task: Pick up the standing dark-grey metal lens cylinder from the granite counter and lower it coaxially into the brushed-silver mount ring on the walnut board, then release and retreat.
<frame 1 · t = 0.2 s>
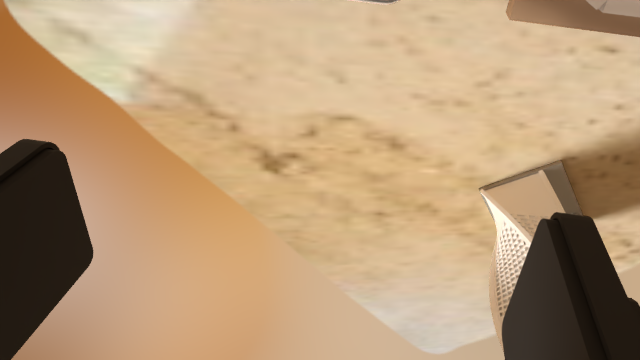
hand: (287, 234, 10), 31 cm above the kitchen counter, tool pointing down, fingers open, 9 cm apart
skyscraper: (521, 201, 44), on the kitchen counter
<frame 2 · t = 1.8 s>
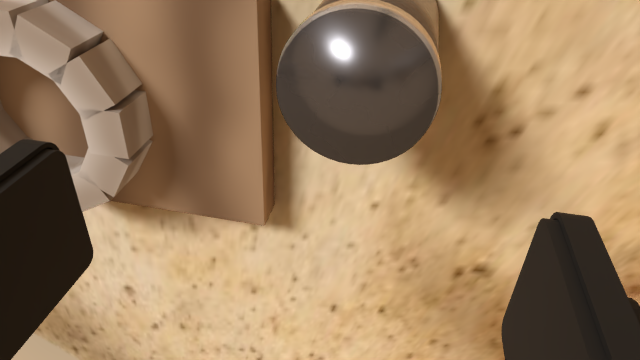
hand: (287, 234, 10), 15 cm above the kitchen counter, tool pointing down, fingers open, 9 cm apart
mount board: (111, 90, 26), on the kitchen counter
lens: (380, 21, 22), on the kitchen counter
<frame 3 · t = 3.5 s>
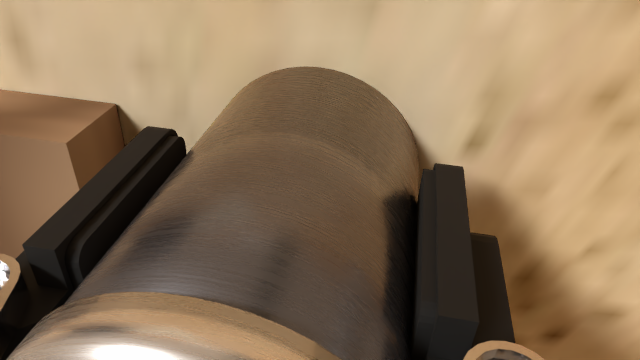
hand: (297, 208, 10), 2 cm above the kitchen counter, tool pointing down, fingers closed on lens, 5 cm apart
lens: (314, 165, 12), on the kitchen counter, touching gripper
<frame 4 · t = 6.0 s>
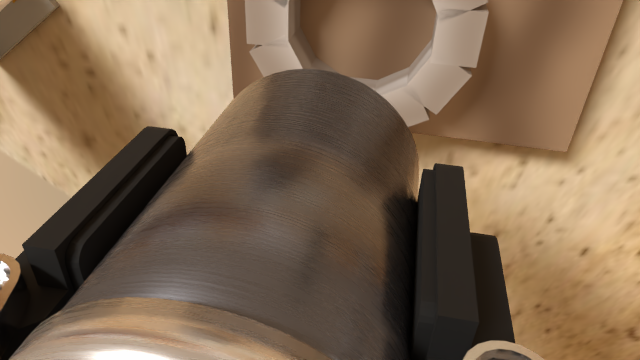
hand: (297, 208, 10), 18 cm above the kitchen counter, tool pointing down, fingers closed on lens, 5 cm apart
mount board: (409, 7, 25), on the kitchen counter
lens: (314, 167, 12), point 16 cm above the kitchen counter, touching gripper
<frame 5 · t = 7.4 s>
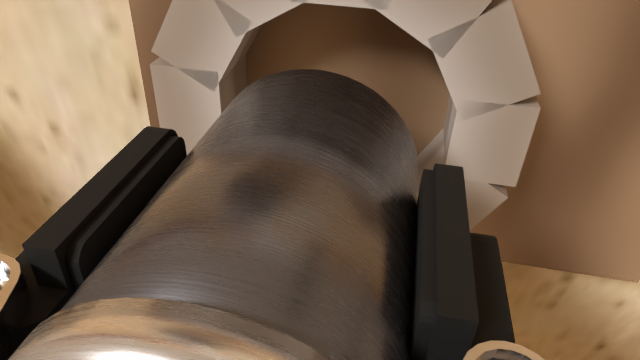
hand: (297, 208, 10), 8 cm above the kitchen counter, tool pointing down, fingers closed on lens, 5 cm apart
mount board: (410, 75, 17), on the kitchen counter
lens: (313, 167, 12), point 7 cm above the kitchen counter, touching gripper
when the fingers open (5 cm above the kitchen counter, at t = 8.3 s): lens drops 2 cm, resting on mount board.
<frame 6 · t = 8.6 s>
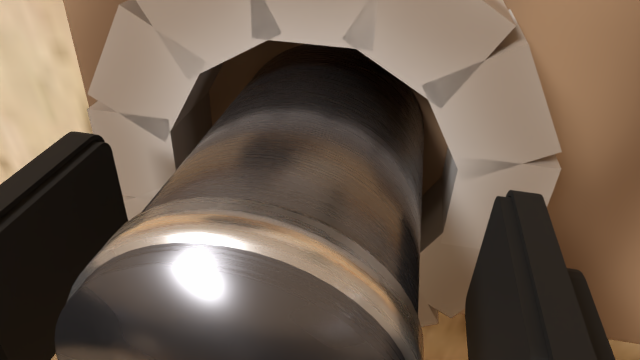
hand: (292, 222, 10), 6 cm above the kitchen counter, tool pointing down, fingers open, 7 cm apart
mount board: (403, 111, 15), on the kitchen counter
lens: (329, 133, 13), point 2 cm above the kitchen counter, touching mount board
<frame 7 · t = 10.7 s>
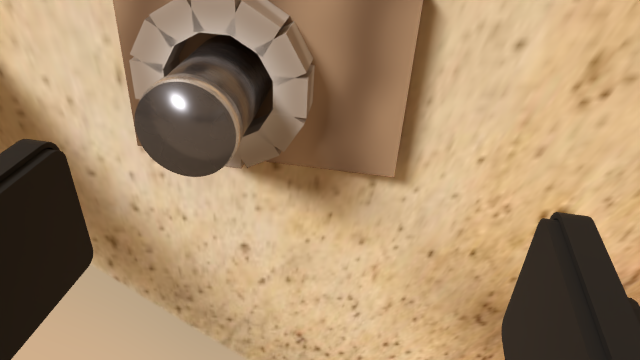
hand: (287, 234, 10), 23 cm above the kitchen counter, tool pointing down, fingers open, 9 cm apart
mount board: (269, 67, 32), on the kitchen counter
lens: (232, 74, 30), point 2 cm above the kitchen counter, touching mount board
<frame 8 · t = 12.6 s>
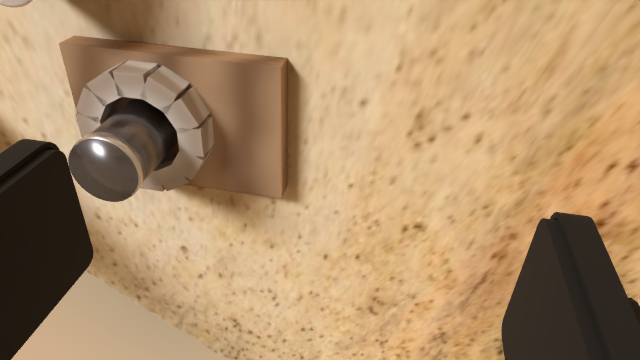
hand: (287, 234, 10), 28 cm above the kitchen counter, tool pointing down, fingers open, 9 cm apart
mount board: (185, 114, 42), on the kitchen counter
lens: (154, 121, 41), point 2 cm above the kitchen counter, touching mount board
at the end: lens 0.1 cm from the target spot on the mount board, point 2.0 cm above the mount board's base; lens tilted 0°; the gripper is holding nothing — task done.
